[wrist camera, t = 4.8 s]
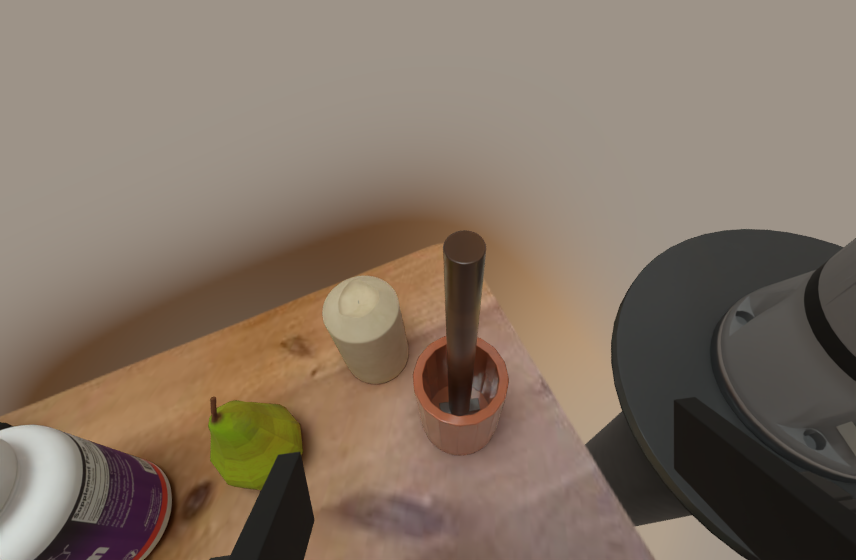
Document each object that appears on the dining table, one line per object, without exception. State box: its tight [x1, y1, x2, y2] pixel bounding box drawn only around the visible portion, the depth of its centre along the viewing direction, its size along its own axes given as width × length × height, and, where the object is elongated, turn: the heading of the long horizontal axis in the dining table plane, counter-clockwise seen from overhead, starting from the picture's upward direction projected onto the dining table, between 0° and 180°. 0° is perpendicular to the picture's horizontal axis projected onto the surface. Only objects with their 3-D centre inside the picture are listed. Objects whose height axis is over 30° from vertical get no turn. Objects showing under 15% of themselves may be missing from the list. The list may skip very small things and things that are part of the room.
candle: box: [322, 276, 408, 384], centre depth 35 cm, size 6×6×10 cm
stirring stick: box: [439, 231, 486, 416], centre depth 26 cm, size 3×2×22 cm, turn 96°
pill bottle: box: [0, 425, 172, 560], centre depth 27 cm, size 8×8×14 cm
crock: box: [413, 336, 509, 455], centre depth 32 cm, size 6×6×9 cm
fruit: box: [208, 397, 303, 490], centre depth 30 cm, size 6×6×12 cm
